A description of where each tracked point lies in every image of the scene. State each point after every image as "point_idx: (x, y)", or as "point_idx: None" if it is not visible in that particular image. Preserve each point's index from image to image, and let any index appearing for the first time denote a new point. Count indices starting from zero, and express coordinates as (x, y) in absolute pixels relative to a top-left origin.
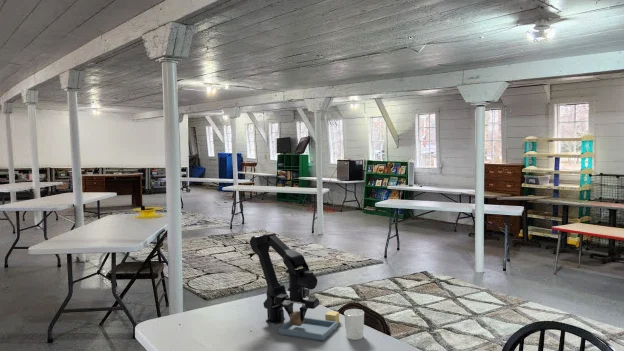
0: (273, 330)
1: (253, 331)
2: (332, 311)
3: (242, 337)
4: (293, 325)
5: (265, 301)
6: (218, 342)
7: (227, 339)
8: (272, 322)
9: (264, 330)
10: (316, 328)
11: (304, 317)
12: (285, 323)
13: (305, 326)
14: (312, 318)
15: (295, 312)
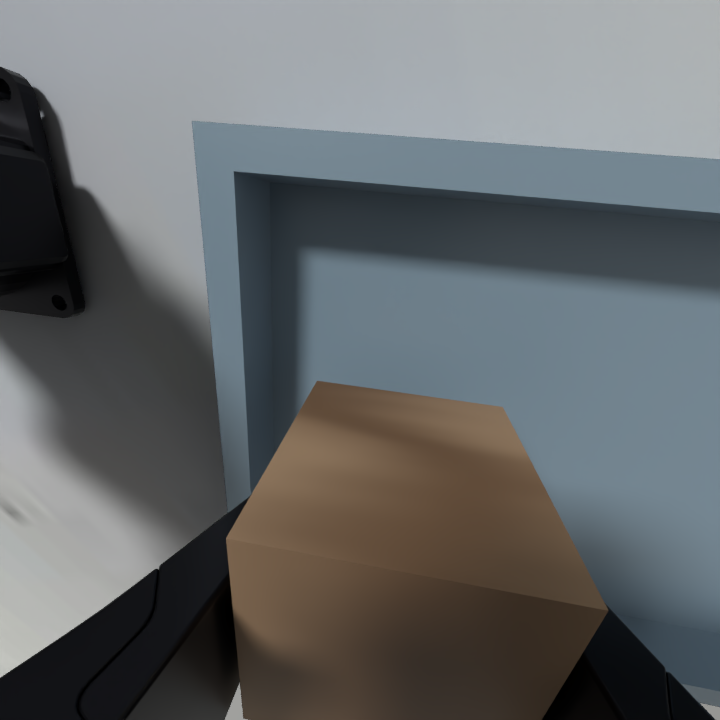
0: (168, 479)
1: (36, 517)
2: None
3: (57, 603)
4: (312, 365)
5: None
6: (2, 656)
7: (7, 628)
8: (9, 306)
9: (96, 490)
10: (690, 402)
11: (432, 159)
12: (231, 489)
13: (495, 365)
14: (654, 166)
15: (324, 648)
